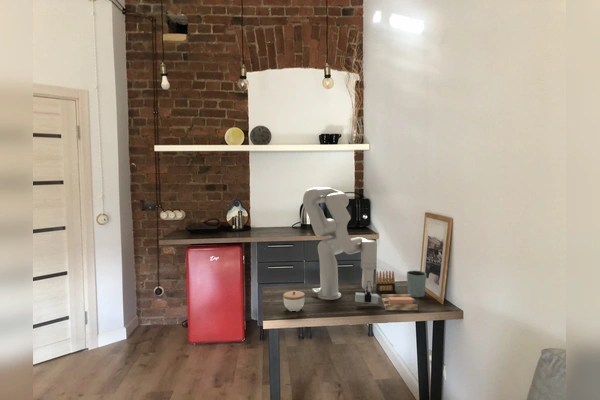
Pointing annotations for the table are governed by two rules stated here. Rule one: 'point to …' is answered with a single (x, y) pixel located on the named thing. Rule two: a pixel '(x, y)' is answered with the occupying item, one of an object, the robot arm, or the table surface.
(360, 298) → the light grey rectangular bar
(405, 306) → the comb board
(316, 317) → the table surface
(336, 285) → the robot arm
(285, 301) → the lidded jar
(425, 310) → the table surface
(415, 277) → the green plant pot
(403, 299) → the tan wooden block
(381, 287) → the ammunition clip
